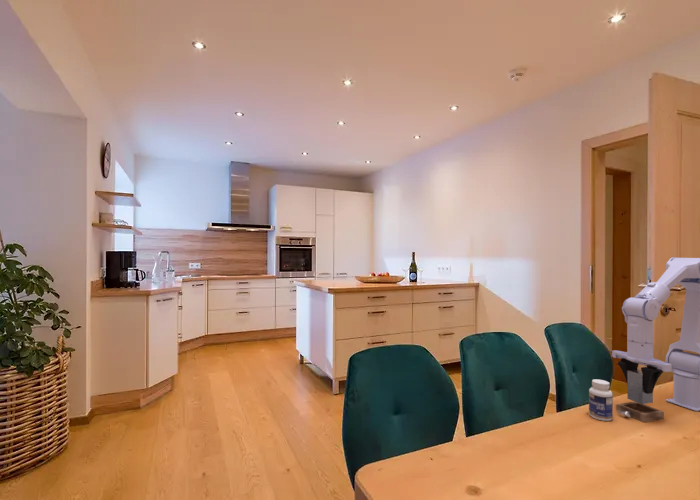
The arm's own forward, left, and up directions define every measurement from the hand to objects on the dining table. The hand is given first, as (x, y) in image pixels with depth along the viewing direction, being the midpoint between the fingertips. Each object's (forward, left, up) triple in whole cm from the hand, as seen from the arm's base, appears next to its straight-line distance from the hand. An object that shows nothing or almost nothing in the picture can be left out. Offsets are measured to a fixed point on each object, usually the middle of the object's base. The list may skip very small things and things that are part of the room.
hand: (639, 390), depth 103 cm
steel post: (0, 0, -3) cm, 3 cm away
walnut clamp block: (+1, 0, -7) cm, 7 cm away
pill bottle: (+12, -2, -7) cm, 14 cm away
